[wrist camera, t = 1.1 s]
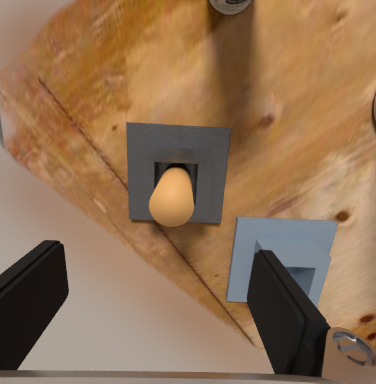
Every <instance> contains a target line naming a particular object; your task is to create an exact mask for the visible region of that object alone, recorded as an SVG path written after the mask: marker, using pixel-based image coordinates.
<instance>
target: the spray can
mask: <svg viewBox="0 0 376 384" xmlns="http://www.w3.org/2000/svg"><path fill="white" fill-rule="evenodd" d="M209 1H210V3H211V5H212V6H213V7H214V8H215V9H216V10H217V11H219V12H221V13H222V14H225V15H234V14H236V13H239V12H241V11H242V10H244V9H245V8H246V7H247V6H248V5H249V3H250V2H251V0H209Z"/></svg>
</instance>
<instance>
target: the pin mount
mask: <svg viewBox="0 0 376 384" xmlns="http://www.w3.org/2000/svg"><path fill="white" fill-rule="evenodd" d="M126 126H127V160H128V194H129V219H135V220H155V219H154V218H153V217H152V215H151V213H150V210H149V201H150V198H151V196H152V194H153V192H154V190H155V188H156V186H157V185H158V183H159V181H160V179H161V177H162V175H163V173H164V171H165V169H166V168H167V167H168V166H169V165H171V164H174V163H180V164H183V165H184V166H186V167H187V168H188V170H189V172H190V177H191V185H192V193H193V201H194V211H193V214H192V216H191V218H190V219H189V220H188V221H187V222H203V223H221V214H222V205H223V196H224V187H225V177H226V168H227V159H228V150H229V141H230V132H231V128H215V127H197V126H180V125H163V124H146V123H128V122H126Z"/></svg>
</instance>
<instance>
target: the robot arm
mask: <svg viewBox="0 0 376 384" xmlns="http://www.w3.org/2000/svg"><path fill="white" fill-rule="evenodd" d="M374 117H375V121H376V96H375V101H374ZM68 293H69V289H68V280H67V270H66V262H65V252H64V245H63V244H61V243H60V241H53V240H45V241H43V242H41V243H40V244H39V245H38V246H36V247H35V248H34V249H33V250H31V251H30V252H29V253H28V254H26V255H25V256H24V257H22V258H21V259H20V260H18V261H17V262H16V263H15V264H13V265H12V266H11V267H9V268H8V269H7V270H6V271H4V272H3V273H2V274H1V275H0V384H376V349H375V348H374V347H373V346H372V345H371V344H370V343H369V342H368V341H366V340H365V339H364V338H363V337H361V336H360V335H358V334H356V333H354V332H352V331H350V330H348V329H345V328H340V327H333V328H331V327H330V326H329V325H328V323H327V322H326V319H325V318H324V317H323V315H322V314H321V313H320V312H319V310H318V309H317V308H316V306H315V305H314V304H313V303H312V301H311V300H310V299H309V297H308V296H307V295H306V294H305V292H304V291H303V290H302V288H301V287H300V286H299V285H298V283H297V282H296V281H295V280H294V278H293V277H292V276H291V274H290V273H289V272H288V271H287V269H286V268H285V267H284V265H283V264H282V263H281V262H280V260H279V259H278V258H277V256H276V255H275V254H274V253H273V251H272V250H259V251H258V252H256V253H255V254H254V259H253V265H252V270H251V276H250V281H249V287H248V292H247V304H248V306H249V309H250V311H251V314H252V317H253V319H254V322H255V324H256V327H257V329H258V332H259V334H260V337H261V340H262V342H263V345H264V347H265V350H266V352H267V355H268V357H269V360H270V363H271V365H272V368H273V370H274V373H275V374H257V373H211V372H210V373H208V372H148V371H143V372H142V371H41V370H38V371H37V370H33V371H32V370H17V369H18V368H19V366H20V365H21V363H22V362H23V360H24V359H25V357H26V356H27V355H28V353H29V352H30V350H31V349H32V347H33V346H34V345H35V343H36V342H37V340H38V339H39V337H40V336H41V335H42V333H43V331H44V330H45V329H46V327H47V326H48V324H49V323H50V322H51V320H52V319H53V317H54V316H55V314H56V313H57V312H58V310H59V308H60V307H61V306H62V304H63V303H64V301H65V300H66V298H67V296H68Z"/></svg>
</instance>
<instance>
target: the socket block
mask: <svg viewBox="0 0 376 384" xmlns="http://www.w3.org/2000/svg"><path fill="white" fill-rule="evenodd" d="M337 225H338V223H337V222H335V221H325V220H302V219H280V218H258V217H237V218H236V225H235V233H234V240H233V248H232V255H231V263H230V271H229V278H228V286H227V293H226V300H227V301H230V302H247V292H248V287H249V281H250V276H251V270H252V265H253V259H254V254H255V253H256V252H258V251H259V250H272V251H273V253H274V254H275V255H276V256H277V258H278V259H279V260H280V262H281V263H282V264H283V265H284V267H285V268H286V269H287V271H288V272H289V273H290V274H291V276H292V277H293V278H294V280H295V281H296V282H297V283H298V285H299V286H300V287H301V288H302V290H303V291H304V292H305V294H306V295H307V296H308V297H309V299H310V300H311V301H312V303H313V304H314V305H315V306H316V308H317V305H318V302H319V298H320V295H321V291H322V288H323V284H324V281H325V278H326V274H327V271H328V267H329V264H330V261H331V257H330V256H329V253H330V250H331V246H332V243H333V239H334V236H335V232H336V229H337Z"/></svg>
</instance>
